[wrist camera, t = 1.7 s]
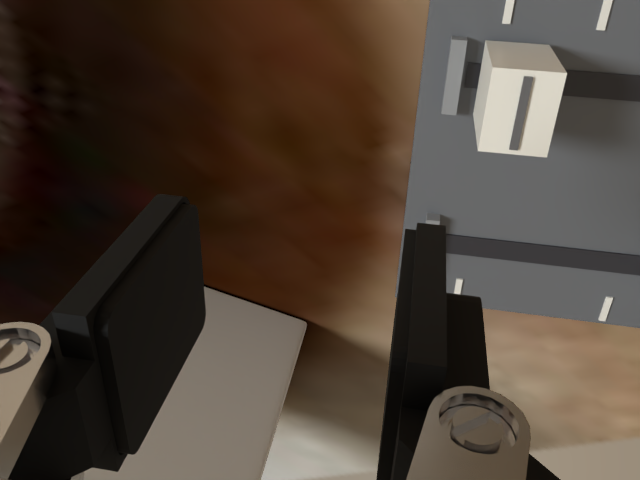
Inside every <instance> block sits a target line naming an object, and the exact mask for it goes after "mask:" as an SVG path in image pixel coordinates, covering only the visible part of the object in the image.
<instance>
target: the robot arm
mask: <svg viewBox="0 0 640 480" xmlns="http://www.w3.org/2000/svg"><path fill="white" fill-rule="evenodd" d="M205 318H206V306H205V294H204V281H203V269H202V256H201V244H200V231H199V219H198V210H197V207H196V206H195V205H190V203H189V200H188V199H187V198H186V197H181V196H172V195H163V194H158V195H157V196H155V197H154V199H153V200H152V201H151V202H150V203H149V204H148V205H147V206H146V207H145V209H144V210H143V211H142V212H141V213H140V214H139V215H138V216H137V217H136V219H135V220H134V221H133V222H132V223H131V224H130V225H129V226H128V227H127V229H126V230H125V231H124V232H123V233H122V234H121V235H120V236H119V238H118V239H117V240H116V241H115V242H114V243H113V244H112V245H111V246H110V248H109V249H108V250H107V251H106V252H105V253H104V254H103V255H102V256H101V257H100V258H99V259H98V261H97V262H96V263H95V264H94V265H93V266H92V267H91V268H90V269H89V271H88V272H87V273H86V274H85V275H84V276H83V277H82V278H81V280H80V281H79V282H78V283H77V284H76V285H75V286H74V287H73V288H72V290H71V291H70V292H69V293H68V294H67V295H66V296H65V297H64V298H63V300H62V301H61V302H60V303H59V304H58V305H57V306H56V307H55V308H54V310H53V311H52V312H51V313H50V314H49V315H48V316H47V317H46V318H45V320H44V321H43V322H42V323H41V324H40V325H39V326H38V325H36V324H33V323H25V322H13V323H5V324H1V325H0V480H84V471H86V470H88V469H90V468H97V469H103V470H109V471H115V472H118V471H119V469H120V467H121V466H122V464H123V462H124V460H125V458H126V456H127V455H128V454H131V455H134V454H136V453H137V451H138V450H139V448H140V446H141V445H142V443H143V441H144V439H145V437H146V435H147V433H148V431H149V429H150V428H151V426H152V424H153V422H154V420H155V418H156V416H157V414H158V412H159V411H160V409H161V407H162V405H163V403H164V401H165V399H166V397H167V395H168V394H169V392H170V390H171V388H172V386H173V384H174V382H175V380H176V378H177V377H178V375H179V373H180V371H181V369H182V367H183V365H184V363H185V362H186V360H187V358H188V356H189V354H190V352H191V350H192V348H193V346H194V345H195V343H196V341H197V339H198V337H199V335H200V333H201V331H202V329H203V327H204V323H205ZM530 439H531V436H530V426H529V424H528V422H527V420H526V418H525V416H524V414H523V412H522V411H521V410H520V409H519V408H518V407H517V406H516V405H515V404H514V403H513V402H511V401H510V400H508V399H507V398H505V397H504V396H502V395H501V394H499V393H496V392H493V391H491V390H490V387H489V376H488V365H487V354H486V343H485V332H484V322H483V311H482V302H481V298H480V297H477V296H469V295H461V294H453V293H446V226H444V225H435V224H426V223H417V227H416V230H413V229H405V235H404V243H403V252H402V260H401V268H400V277H399V285H398V293H397V302H396V310H395V318H394V327H393V335H392V343H391V352H390V361H389V370H388V380H387V389H386V398H385V407H384V416H383V425H382V434H381V444H380V453H379V462H378V471H377V480H560V479H559V478H558V477H556V476H555V475H554V474H553V473H552V472H550V471H549V470H548V469H547V468H546V467H545V466H543V465H542V464H541V463H540V462H539V461H537V460H536V459H535V458H534V457H532V456H531V455H530V454H529V447H530Z"/></svg>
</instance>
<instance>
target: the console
mask: <svg viewBox="0 0 640 480" xmlns="http://www.w3.org/2000/svg"><path fill="white" fill-rule="evenodd" d="M485 40H489V41H503V42H517V43H531V44H545V45H550V47H551V48H552V50H553V51H554V53H555V55H556V56H557V58H558V59H559V61H560V63H561V64H562V66H563V67H564V69H565V70H566V72H567V76H566V80H565V84H564V89H563V93H562V97H561V101H560V105H559V109H558V114H557V118H556V122H555V126H554V130H553V134H552V138H551V143H550V147H549V151H548V155H547V158H546V157H535V156H524V155H514V154H503V153H493V152H482V151H478V149H477V141H476V133H475V125H474V117H473V112H474V106H475V100H476V94H477V88H478V82H479V76H480V70H481V64H482V58H483V52H484V46H485ZM417 223H426V224H435V225H444V226H446V293H453V294H461V295H469V296H477V297H480V298H481V302H482V308H486V309H493V310H501V311H509V312H517V313H525V314H533V315H541V316H549V317H557V318H565V319H573V320H580V321H588V322H596V323H604V324H612V325H620V326H628V327H636V328H640V0H430V5H429V13H428V22H427V30H426V39H425V47H424V56H423V64H422V73H421V81H420V90H419V98H418V107H417V115H416V124H415V132H414V141H413V149H412V158H411V166H410V175H409V183H408V192H407V200H406V209H405V217H404V226H403V234H402V242H401V251H400V259H399V268H398V276H397V285H396V294H395V297H397V293H398V285H399V277H400V268H401V260H402V252H403V243H404V235H405V229H413V230H416V227H417Z"/></svg>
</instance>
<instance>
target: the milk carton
mask: <svg viewBox="0 0 640 480" xmlns="http://www.w3.org/2000/svg"><path fill="white" fill-rule="evenodd" d="M204 294H205V306H206V318H205V323H204V327H203V329H202V331H201V333H200V335H199V337H198V339H197V341H196V343H195V345H194V346H193V348H192V350H191V352H190V354H189V356H188V358H187V360H186V362H185V363H184V365H183V367H182V369H181V371H180V373H179V375H178V377H177V378H176V380H175V382H174V384H173V386H172V388H171V390H170V392H169V394H168V395H167V397H166V399H165V401H164V403H163V405H162V407H161V409H160V411H159V412H158V414H157V416H156V418H155V420H154V422H153V424H152V426H151V428H150V429H149V431H148V433H147V435H146V437H145V439H144V441H143V443H142V445H141V446H140V448H139V450H138V451H137V453H136V454H134V455H131V454H128V455H127V456H126V458H125V460H124V462H123V464H122V466H121V467H120V469H119V471H118V472H115V471H109V470H103V469H97V468H90V469H88V470H86V471H84V480H261V477H262V474H263V470H264V467H265V464H266V461H267V457H268V454H269V451H270V447H271V444H272V441H273V437H274V434H275V431H276V427H277V424H278V421H279V417H280V414H281V411H282V407H283V404H284V401H285V398H286V394H287V391H288V388H289V384H290V381H291V378H292V374H293V371H294V368H295V364H296V361H297V358H298V354H299V351H300V348H301V344H302V341H303V338H304V335H305V331H306V328H307V323H306V322H305V321H302V320H300V319H297V318H294V317H291V316H288V315H285V314H283V313H280V312H277V311H274V310H271V309H268V308H265V307H262V306H259V305H256V304H254V303H251V302H248V301H245V300H242V299H239V298H236V297H233V296H230V295H227V294H224V293H222V292H219V291H216V290H213V289H210V288H207V287H204Z"/></svg>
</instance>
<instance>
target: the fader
mask: <svg viewBox="0 0 640 480" xmlns="http://www.w3.org/2000/svg"><path fill="white" fill-rule="evenodd" d="M566 76H567V72H566V70H565V69H564V67H563V66H562V64H561V63H560V61H559V59H558V58H557V56H556V55H555V53H554V51H553V50H552V48H551V47H550V45H545V44H531V43H517V42H503V41H489V40H485V46H484V52H483V58H482V64H481V70H480V76H479V82H478V88H477V94H476V100H475V106H474V112H473V117H474V125H475V133H476V141H477V149H478V151H482V152H493V153H503V154H514V155H524V156H535V157H546V158H547V155H548V151H549V147H550V143H551V138H552V134H553V130H554V126H555V122H556V118H557V114H558V109H559V105H560V101H561V97H562V93H563V89H564V84H565V80H566Z"/></svg>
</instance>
